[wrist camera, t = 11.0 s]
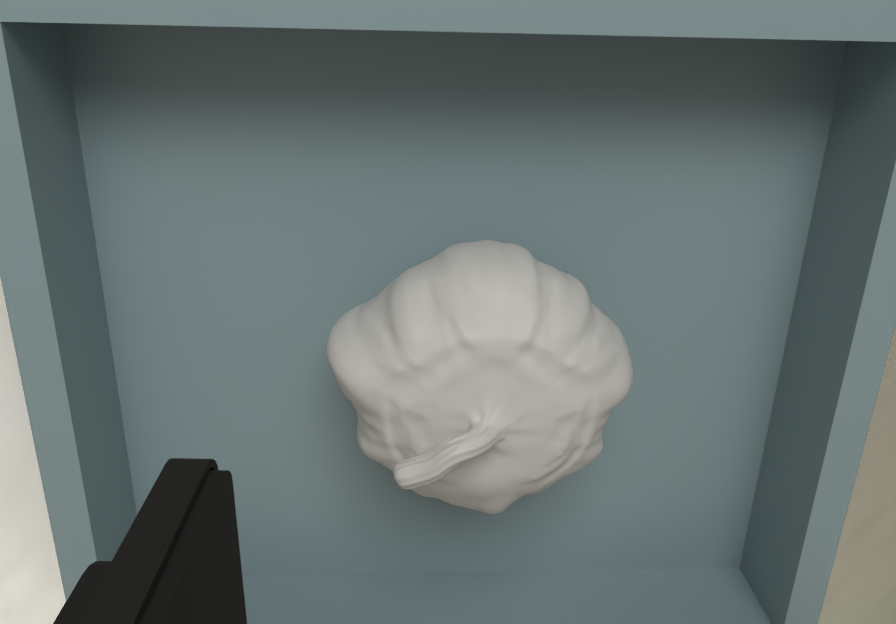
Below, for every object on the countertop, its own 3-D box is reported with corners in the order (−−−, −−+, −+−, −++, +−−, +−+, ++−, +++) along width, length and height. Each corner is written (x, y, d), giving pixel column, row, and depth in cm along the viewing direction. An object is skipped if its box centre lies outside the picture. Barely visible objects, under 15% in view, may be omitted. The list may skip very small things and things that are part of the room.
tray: (869, -10, 17) (981, -7, 13) (748, 566, 22) (807, 664, 19) (33, -32, 16) (-63, -35, 12) (130, 576, 21) (82, 681, 18)
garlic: (338, 432, 19) (316, 586, 14) (334, 212, 17) (307, 304, 12) (587, 434, 19) (649, 585, 15) (614, 218, 17) (695, 310, 12)
